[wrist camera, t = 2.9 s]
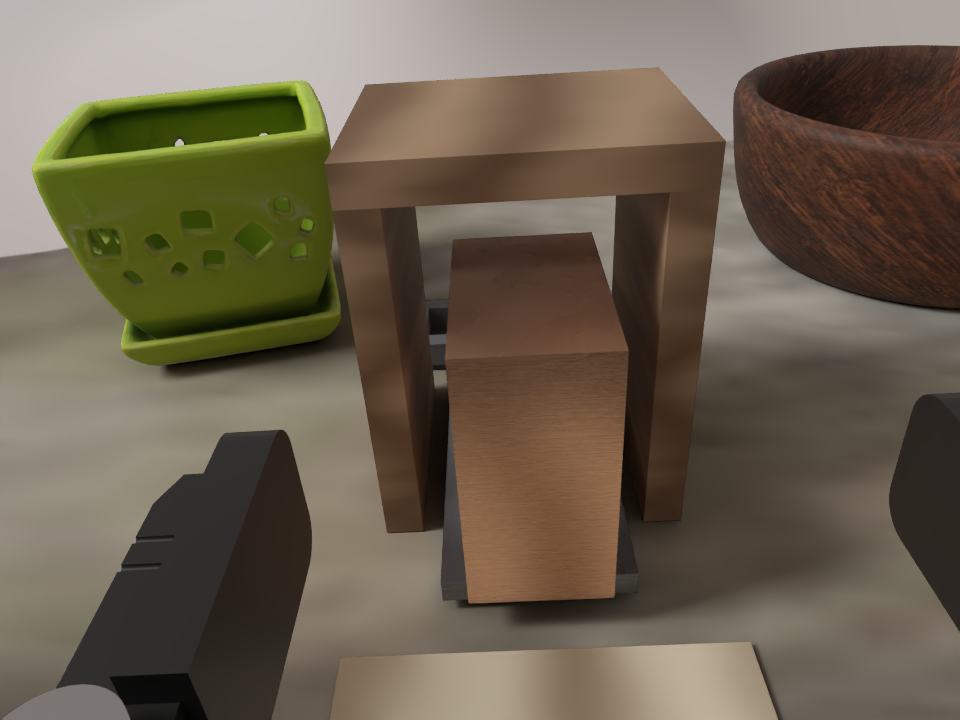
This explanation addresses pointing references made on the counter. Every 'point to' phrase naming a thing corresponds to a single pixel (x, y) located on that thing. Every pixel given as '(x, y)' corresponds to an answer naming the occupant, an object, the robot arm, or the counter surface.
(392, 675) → the pad
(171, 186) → the flower pot
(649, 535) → the counter surface
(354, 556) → the counter surface
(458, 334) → the tall wood-grain block
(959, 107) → the wooden bowl
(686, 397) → the tunnel
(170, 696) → the robot arm
